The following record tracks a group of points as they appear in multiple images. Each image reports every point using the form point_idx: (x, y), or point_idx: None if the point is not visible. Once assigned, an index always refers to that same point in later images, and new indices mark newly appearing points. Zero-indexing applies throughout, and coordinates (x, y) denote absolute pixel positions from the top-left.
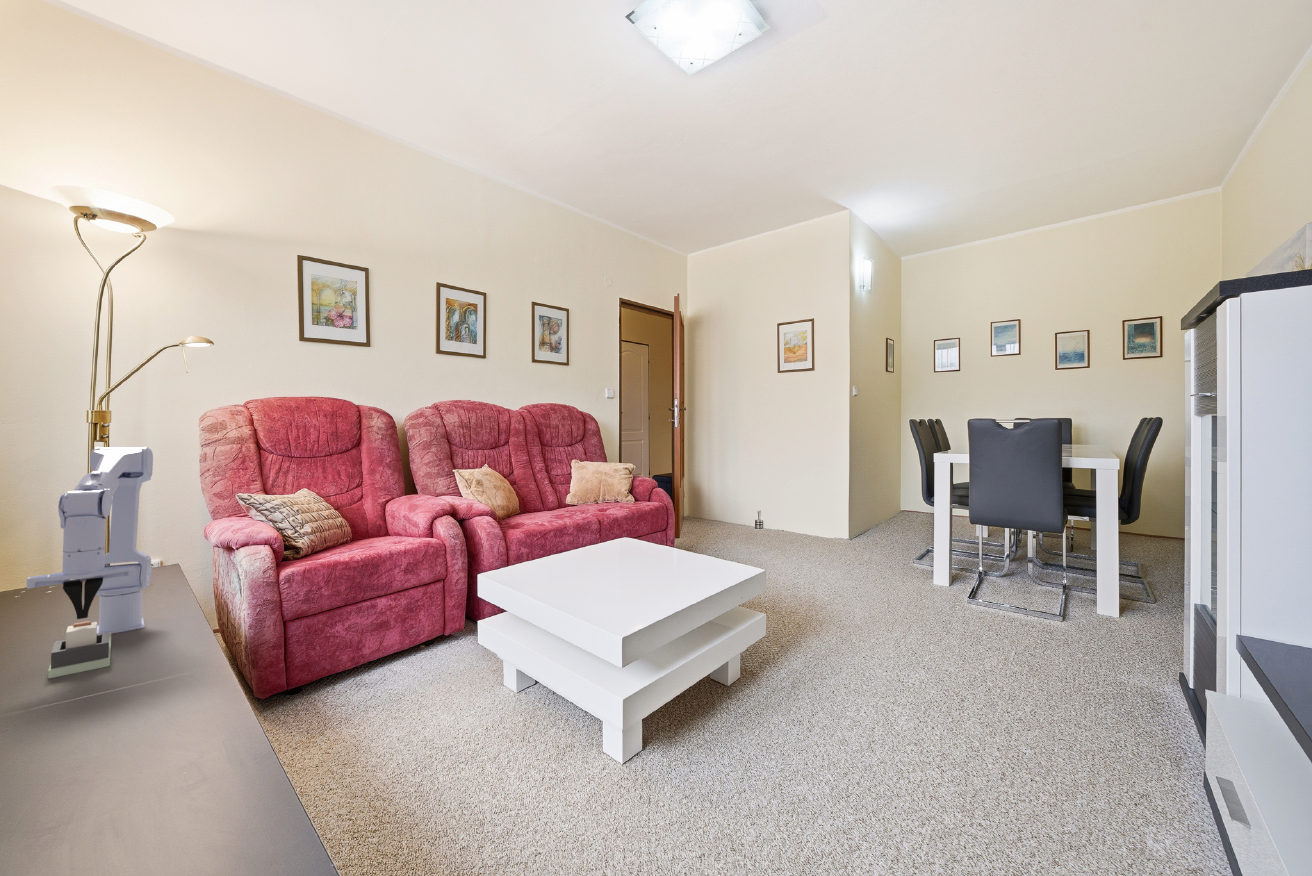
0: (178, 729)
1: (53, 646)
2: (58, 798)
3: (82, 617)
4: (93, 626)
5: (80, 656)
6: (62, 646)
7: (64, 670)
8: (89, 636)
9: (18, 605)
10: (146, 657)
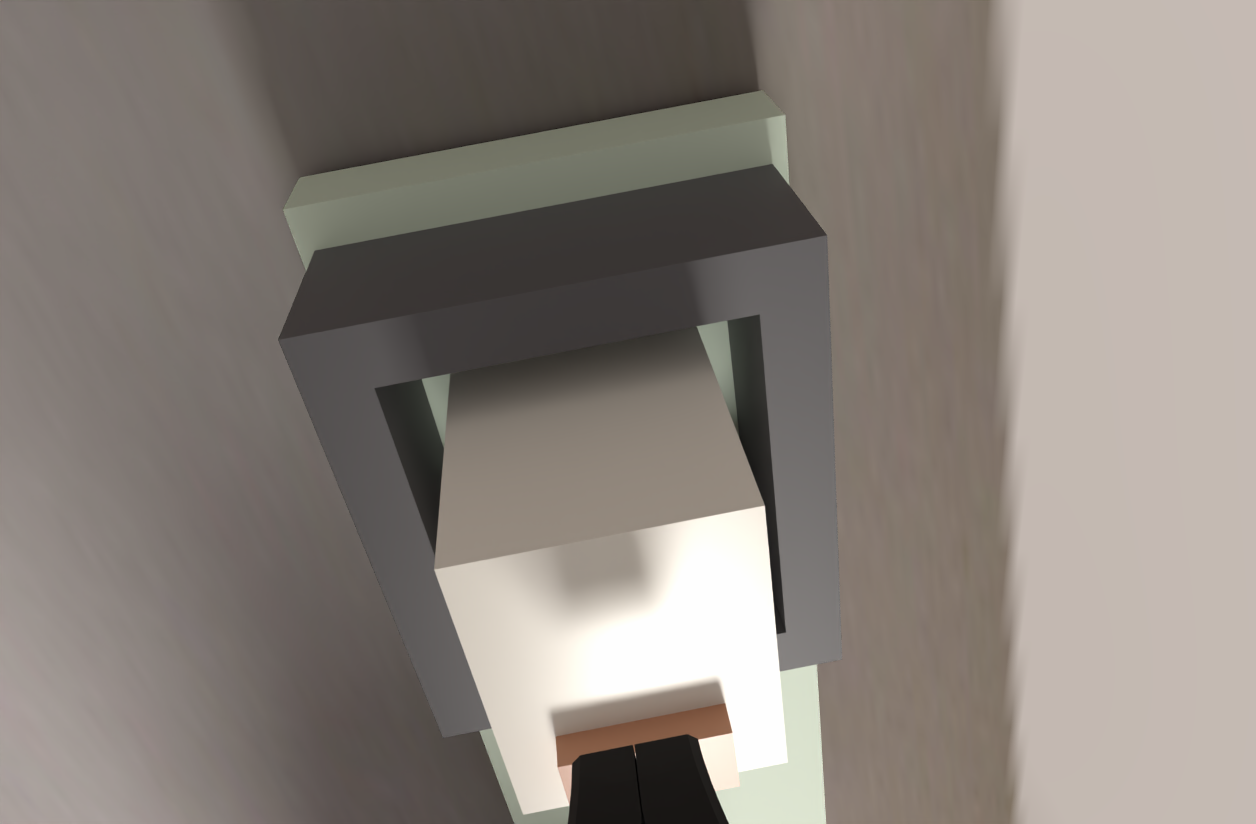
0: None
1: (836, 507)
2: None
3: (632, 758)
4: (491, 633)
5: (547, 236)
6: None
7: (653, 125)
8: (507, 477)
9: None
10: (43, 309)
